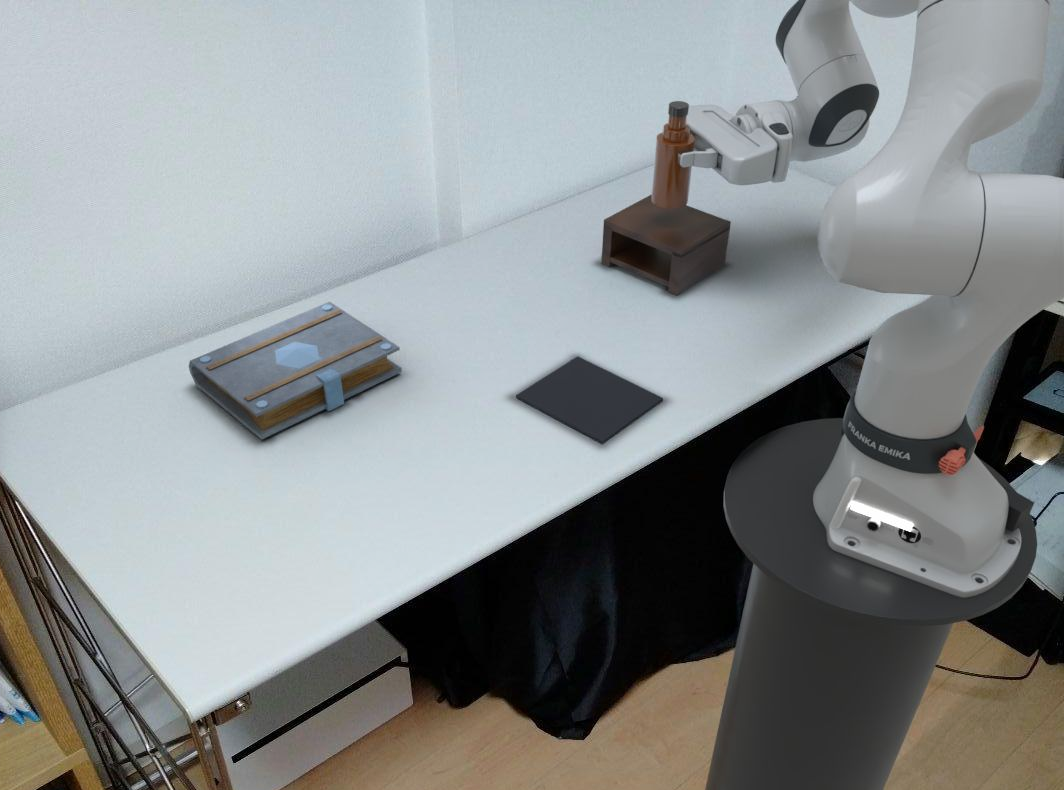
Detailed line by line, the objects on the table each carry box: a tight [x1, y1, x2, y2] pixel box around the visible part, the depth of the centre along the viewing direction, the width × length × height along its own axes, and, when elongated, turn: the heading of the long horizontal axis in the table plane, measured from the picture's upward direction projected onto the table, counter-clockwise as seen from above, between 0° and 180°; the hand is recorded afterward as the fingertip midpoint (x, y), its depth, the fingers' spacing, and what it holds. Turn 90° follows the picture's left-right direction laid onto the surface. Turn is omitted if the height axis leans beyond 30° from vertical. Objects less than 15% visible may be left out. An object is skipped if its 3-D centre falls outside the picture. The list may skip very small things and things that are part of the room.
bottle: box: [651, 100, 695, 209], centre depth 143 cm, size 5×5×14 cm
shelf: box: [600, 193, 732, 296], centre depth 153 cm, size 14×12×7 cm
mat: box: [515, 356, 664, 445], centre depth 130 cm, size 14×12×1 cm
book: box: [188, 301, 403, 440], centre depth 131 cm, size 21×16×5 cm
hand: (668, 150), depth 143 cm, fingers closed on bottle, 5 cm apart
